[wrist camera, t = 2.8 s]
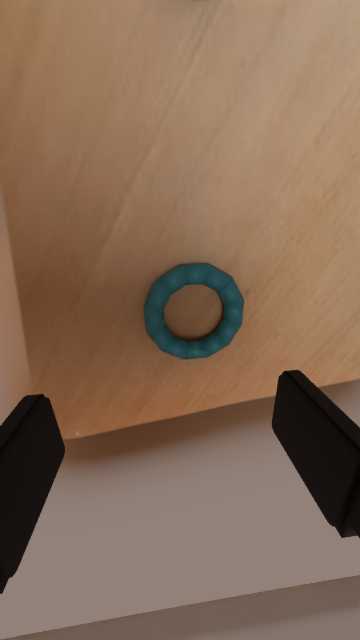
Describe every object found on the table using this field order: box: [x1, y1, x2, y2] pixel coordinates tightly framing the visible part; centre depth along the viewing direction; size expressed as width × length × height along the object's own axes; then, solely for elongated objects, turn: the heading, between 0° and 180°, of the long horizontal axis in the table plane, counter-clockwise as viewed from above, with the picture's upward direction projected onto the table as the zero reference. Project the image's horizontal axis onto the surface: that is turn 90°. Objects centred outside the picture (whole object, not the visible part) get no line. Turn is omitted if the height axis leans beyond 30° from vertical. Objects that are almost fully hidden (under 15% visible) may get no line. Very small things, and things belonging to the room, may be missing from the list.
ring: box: [144, 263, 244, 360], centre depth 19 cm, size 8×8×2 cm
